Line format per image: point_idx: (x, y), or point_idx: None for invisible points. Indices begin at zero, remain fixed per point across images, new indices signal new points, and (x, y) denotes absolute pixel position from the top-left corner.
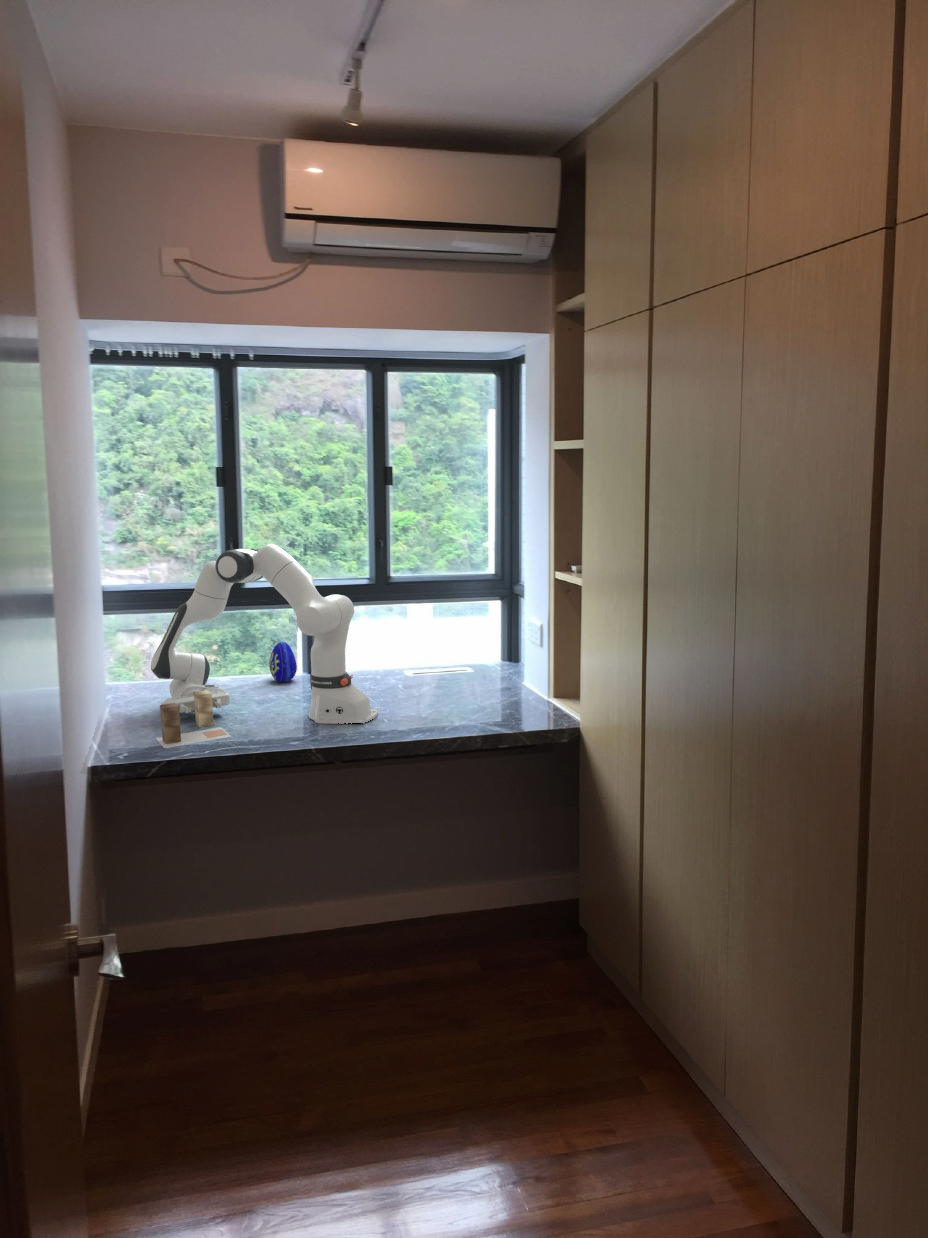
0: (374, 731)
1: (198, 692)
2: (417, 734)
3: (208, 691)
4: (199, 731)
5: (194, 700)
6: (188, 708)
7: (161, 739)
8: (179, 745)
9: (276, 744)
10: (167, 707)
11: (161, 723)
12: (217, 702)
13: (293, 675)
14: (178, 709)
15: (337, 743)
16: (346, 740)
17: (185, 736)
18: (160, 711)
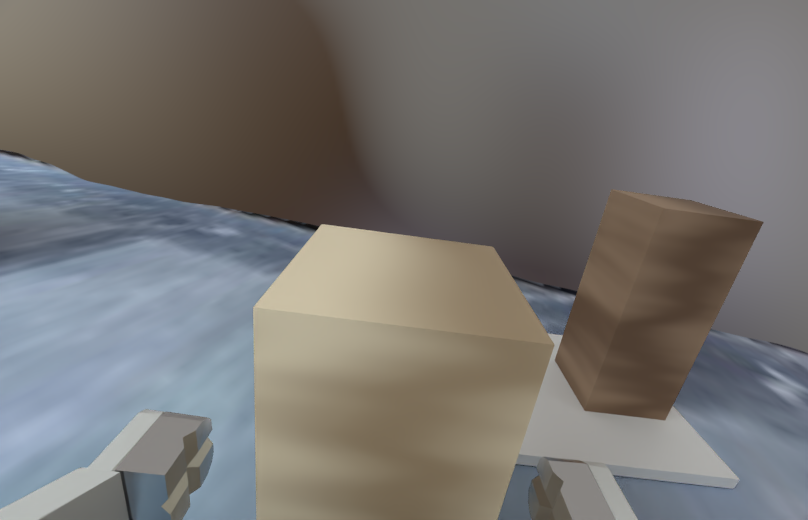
0: (14, 194)
1: (463, 297)
2: (12, 170)
3: (301, 262)
4: None
5: (507, 460)
6: (573, 461)
7: (679, 434)
8: (556, 335)
9: (268, 242)
10: (675, 199)
11: (704, 331)
12: (163, 430)
13: None
14: (607, 206)
15: (167, 202)
16: (133, 201)
17: (539, 404)
18: (739, 261)
